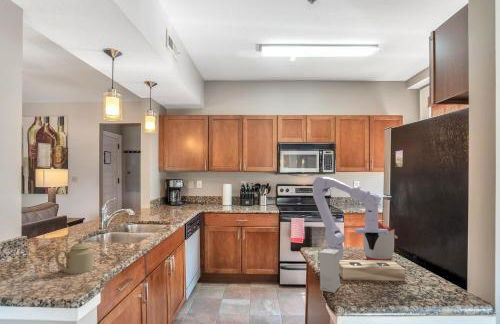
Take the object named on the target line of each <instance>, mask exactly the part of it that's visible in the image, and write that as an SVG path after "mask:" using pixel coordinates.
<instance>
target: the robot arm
mask: <svg viewBox="0 0 500 324" xmlns="http://www.w3.org/2000/svg"><path fill="white" fill-rule="evenodd" d="M312 187H313V190H312V191H313V192H312V193H313V194H312V197H313V199H314V202H315V205H316V207H317V209H318V212H319V215H320V217H321V221H322V224H323V225H324V228H325V231H324V235H325V242H326V244H327V248H326V249H334V250H339V260H344V245H343V243H344V242H345V240H346V238H345V237H346V236H345V235H344V233H343V232H342V231H341V229H340V228H339V226H337V224H336V222H335V219H334V217H333V214H332V212H331V210H330V207H329V205H328V202H327V200H326V197H325V196H326V194H327V192H328V191H329V190H330V189H331V188H334V189H337V190H339V191H341V192H345V193H347V194H349V197H350V198H352V199H354V200H356V201H358V202H361V203H362V204H364V208H365V209H364V226H365V228H362V227H361V228H354V231H355V234H357V235H358V234H363V233H364V234H365V236H366V238H367V241H368V244H369V249H371V250H374V246H375V243H376V241H377V239H378V237H379V235H378V234H388V230H387V229H378V222H379V204H380V200H381V199H380V197H379V195H378V194H376V193H375V192H372V193H371V191H370V190H365V189H363V188H362V187H361V186H350V185H348V184H345V183H344V182H342V181H340V180H338V179H335V178H333V177H330V176H318V177H316V178H315V179H314V181H313V182H312Z"/></svg>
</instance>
